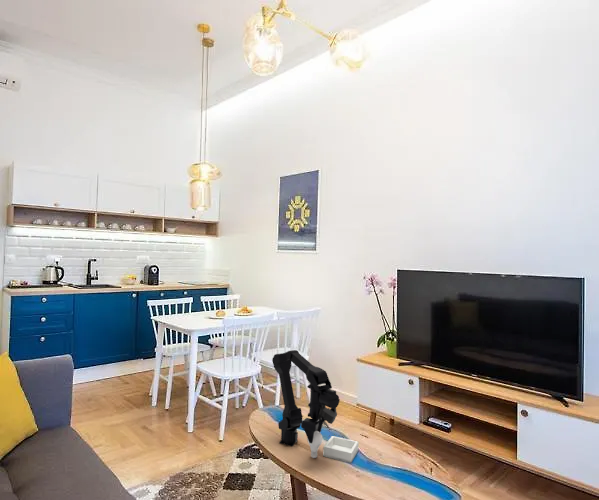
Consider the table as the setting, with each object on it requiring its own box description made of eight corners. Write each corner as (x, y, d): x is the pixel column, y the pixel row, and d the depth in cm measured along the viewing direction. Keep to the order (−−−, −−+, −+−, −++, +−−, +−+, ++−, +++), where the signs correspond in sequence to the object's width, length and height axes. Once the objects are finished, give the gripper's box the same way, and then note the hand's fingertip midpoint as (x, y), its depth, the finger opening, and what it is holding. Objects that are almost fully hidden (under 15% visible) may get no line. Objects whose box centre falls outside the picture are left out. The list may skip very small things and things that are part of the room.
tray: (323, 456, 174) (323, 446, 174) (331, 444, 185) (332, 435, 186) (350, 463, 170) (351, 453, 170) (358, 450, 181) (358, 441, 181)
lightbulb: (310, 462, 168) (312, 435, 169) (303, 455, 174) (305, 429, 174) (324, 459, 171) (325, 432, 171) (316, 453, 177) (318, 427, 177)
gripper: (328, 412, 161) (326, 452, 161) (341, 398, 179) (339, 434, 179) (301, 406, 166) (299, 446, 165) (317, 393, 183) (315, 429, 183)
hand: (314, 438), depth 173 cm, fingers open, 9 cm apart
